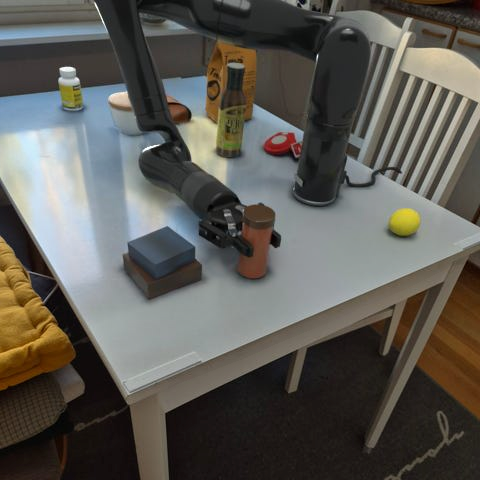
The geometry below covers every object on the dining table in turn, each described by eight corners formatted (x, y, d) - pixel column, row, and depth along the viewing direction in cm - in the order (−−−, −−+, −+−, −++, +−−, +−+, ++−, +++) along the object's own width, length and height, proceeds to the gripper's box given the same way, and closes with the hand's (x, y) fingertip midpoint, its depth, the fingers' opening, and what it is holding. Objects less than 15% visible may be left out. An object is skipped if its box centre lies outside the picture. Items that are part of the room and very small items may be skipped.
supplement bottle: (78, 112, 126) (72, 73, 119) (59, 109, 127) (52, 70, 120) (86, 106, 130) (81, 67, 123) (68, 103, 131) (62, 64, 124)
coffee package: (200, 113, 133) (202, 24, 117) (238, 108, 138) (244, 22, 123) (218, 127, 127) (222, 34, 112) (256, 121, 132) (265, 32, 117)
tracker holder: (257, 148, 116) (272, 125, 121) (260, 163, 120) (275, 141, 125) (303, 149, 111) (316, 126, 116) (305, 166, 114) (318, 142, 119)
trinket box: (103, 133, 118) (99, 94, 112) (123, 119, 126) (120, 81, 119) (142, 142, 116) (140, 102, 110) (160, 126, 124) (159, 89, 117)
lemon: (392, 242, 93) (401, 219, 89) (379, 227, 96) (386, 204, 92) (422, 238, 94) (432, 215, 91) (408, 224, 98) (416, 201, 94)
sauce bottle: (223, 160, 113) (229, 70, 99) (211, 150, 116) (214, 61, 102) (246, 156, 115) (254, 68, 101) (233, 146, 119) (239, 59, 105)
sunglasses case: (132, 101, 134) (141, 78, 131) (151, 111, 139) (161, 89, 137) (165, 124, 124) (176, 100, 122) (185, 133, 129) (195, 110, 127)
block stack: (175, 252, 85) (174, 222, 80) (201, 279, 80) (202, 249, 75) (124, 269, 80) (120, 238, 76) (148, 299, 75) (146, 268, 71)
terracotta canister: (254, 257, 85) (262, 201, 77) (272, 273, 82) (282, 216, 74) (231, 265, 82) (236, 209, 74) (248, 282, 80) (256, 225, 72)
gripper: (174, 189, 80) (231, 241, 70) (242, 172, 86) (302, 217, 77) (175, 227, 85) (227, 279, 76) (239, 208, 92) (295, 254, 82)
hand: (265, 247), depth 76 cm, fingers closed on terracotta canister, 5 cm apart
